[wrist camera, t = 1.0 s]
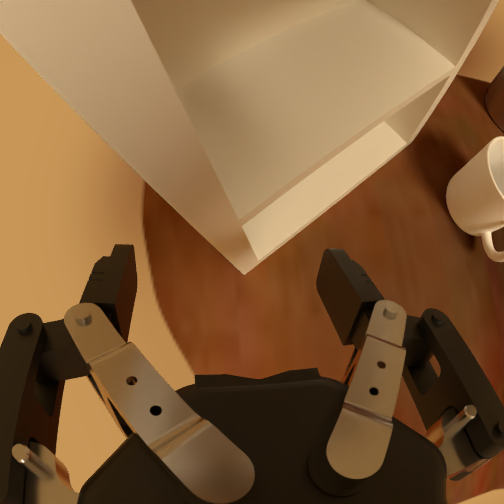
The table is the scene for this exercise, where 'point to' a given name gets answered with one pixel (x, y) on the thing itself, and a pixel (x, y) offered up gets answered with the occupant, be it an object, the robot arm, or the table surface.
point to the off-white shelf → (249, 96)
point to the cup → (480, 195)
